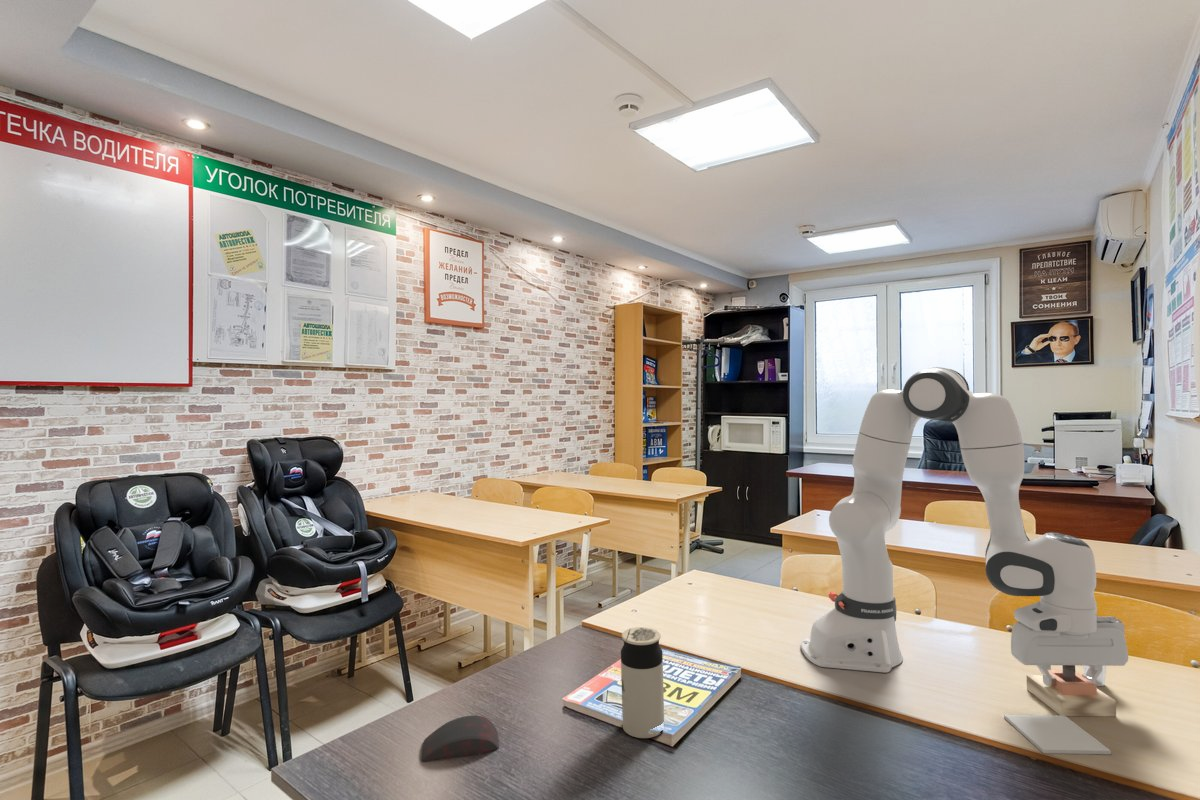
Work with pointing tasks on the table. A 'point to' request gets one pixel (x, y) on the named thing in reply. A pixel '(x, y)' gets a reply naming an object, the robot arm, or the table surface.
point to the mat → (1056, 734)
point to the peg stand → (1071, 697)
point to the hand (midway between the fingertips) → (1069, 685)
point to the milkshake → (1101, 678)
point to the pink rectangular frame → (1073, 684)
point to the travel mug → (642, 681)
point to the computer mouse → (461, 739)
